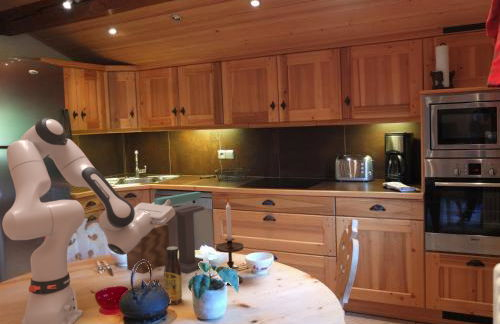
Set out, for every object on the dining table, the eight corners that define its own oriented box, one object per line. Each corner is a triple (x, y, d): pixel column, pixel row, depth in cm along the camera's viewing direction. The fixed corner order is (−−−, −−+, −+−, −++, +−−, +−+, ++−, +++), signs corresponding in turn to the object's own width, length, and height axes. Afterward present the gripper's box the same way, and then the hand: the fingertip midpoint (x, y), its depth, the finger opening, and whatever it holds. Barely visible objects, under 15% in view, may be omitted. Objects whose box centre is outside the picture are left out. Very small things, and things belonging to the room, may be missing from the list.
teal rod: (159, 206, 185) (159, 199, 185) (154, 206, 187) (154, 198, 187) (201, 198, 204) (200, 192, 204) (196, 198, 206) (196, 191, 206)
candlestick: (237, 287, 175) (233, 197, 171) (212, 284, 180) (208, 196, 176) (249, 278, 185) (246, 192, 181) (225, 275, 189) (222, 191, 186)
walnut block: (142, 273, 195) (139, 232, 193) (127, 269, 201) (124, 229, 199) (170, 263, 208) (168, 224, 206) (155, 259, 214) (153, 221, 212)
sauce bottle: (161, 303, 162) (157, 249, 160) (171, 297, 168) (169, 244, 166) (175, 306, 159) (173, 251, 157) (186, 300, 165) (183, 246, 163)
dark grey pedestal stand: (187, 273, 193) (184, 213, 190) (164, 268, 201) (161, 209, 198) (210, 264, 204) (207, 207, 201) (187, 259, 212) (184, 204, 209)
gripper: (157, 219, 173) (179, 196, 182) (124, 213, 186) (146, 192, 195) (164, 231, 176) (186, 208, 185) (131, 225, 189) (153, 203, 198)
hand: (165, 200), depth 190 cm, fingers closed on teal rod, 3 cm apart
